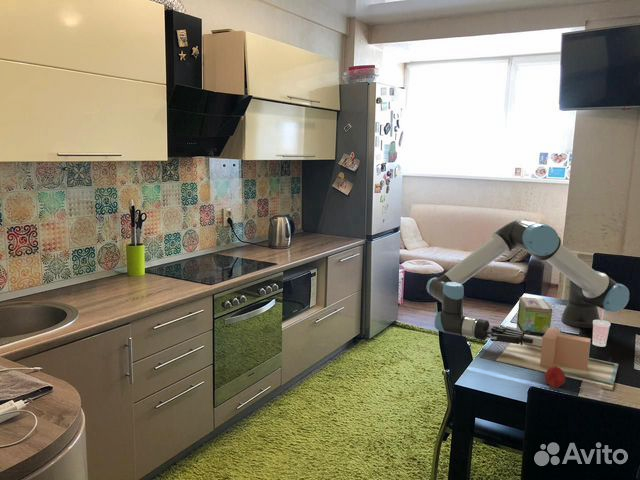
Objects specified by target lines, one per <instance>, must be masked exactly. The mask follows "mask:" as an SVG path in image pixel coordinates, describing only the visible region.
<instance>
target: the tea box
mask: <svg viewBox="0 0 640 480" xmlns="http://www.w3.org/2000/svg"><path fill="white" fill-rule="evenodd" d="M552 314H553V308H552V306H550V304H549V303H548V301H546V300H545V298H537V297H526V296H519V300H518V311H517V320H516V329H515V330H519V331H523V332H525V334H526V335H531V336H536V337H541V338H543V336H544V334H545V333H546V331H547V329H548V328H551V325H552V316H553V315H552Z"/></svg>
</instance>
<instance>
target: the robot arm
mask: <svg viewBox="0 0 640 480" xmlns="http://www.w3.org/2000/svg"><path fill="white" fill-rule="evenodd" d="M515 249H521V250H523V251H525V252H527V253H528V254H530V255H531V256H532V257H534V258H535V259H536V260H538V261H540V262H545V261H546V262H547V263H548V264H549V265H551V266H552V267H553V268H554V269H556V270H557V271H558V272H560V273H561V274H563V276H565V277H566V278H567V279H569V284H568V285H569V286H568V296H567V297H568V298H567V304H566V306H565V308H564V311H563V313H562V315H561V321H562V322H563V323H564V324H566V325H569V326H572V327H576V328H581V329H593V320H601V318H600V314H599V309H602V310H604V311H606V312H610V313H617V312H620V311H622V310H624V309H625V307H626V306H627V304H628V303H629V300H630V290H629V288H628V287H627V286H626V285H624V284H622V283H618V282H616V281H615V280H614V279H612V278H611V277H610V276H608V275H607V274H606V273H605V272H601V271H598V270H595V269H593V268H592V267H591V266H590V265H588V264H587V263H586V262H584V261H583V260H582V259H581V258H580V257H578V256H577V255H576V254H575V253H573V252H572V251H571V250H570V249H568V248H567V247H566V246H564V245H563V244H562V239H561V237H559V234H558V232H557V230H555V228H553V227H552V226H550V225H549V224H546V223H543V222H536V221H532V220H530V219H526V218H525V219H524V218H523V219H522V218H520V219H516V220H512V221H510V222H509V223H507V224H505V225H504V226H502V227H501V228H499V229H498V230H496V231H495V232H493V233H492V235H491V238H490V239H488V240H487V241H486V242H485V243H484V244H482V245H481V246H479V247H478V248H477V249H475V250H473V252H471V253H470V254H469V255H468V256H466V257H465V258H463V259H462V260H461V261H460V262H458V263H457V264H456V265H454V266H453V267H451V268H450V269H448V271H446V272H445V273H444V274H442V275H441V276H440V277H432V278H430V279H429V280H428V281H427V283H426V290H427V293H428V294H429V295H430V296H431V297H433V298H435V299H436V300H437V301H438V302H440V303H442V304H441V305H442V306H441V311H437V312H436V315H435V318H434V328H435V329H436V330H437V331H438V332H442V333H445V334H451V335H455V336H456V335H457V336H460V337H461V336H462V337H465V338H467V339H469V338H470V339H474V338H475V340H479V341H486V340H487V339H488V338H489V339H490V341H491V342H499V343H508V344H510V343H514V344H520V343H521V344H520V345H523V344H526V345H531V346H535V347H540V348H542V339H543V338H541V337H536V336H531V335H526V334H525V332H523V331H519V330H516V329H515V328H511V327H507V326H505V325H502V324H500V325H499V326H498V325H490V322H489V320H486V319H481V318H479V319H478V318H476V317H471V316H467V315H466V316H465V315H463V306H464V305H463V304H464V296H465V293H464V285H463V284H464V283H466V282H467V281H468V280H470V279H471V278H472V277H473V276H475V275H476V274H478V273H479V272H481V270H483V269H484V268H486V267H487V266H489V265H490V264H491V263H492V262H493V261H495V260H496V259H497V258H499V257H500V256H502V255H503V254H504V253H506V254H509V253H510V252H511V251H513V250H515Z"/></svg>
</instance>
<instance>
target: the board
mask: <svg viewBox="0 0 640 480" xmlns="http://www.w3.org/2000/svg"><path fill="white" fill-rule="evenodd" d="M520 344H521V343H520ZM520 344H514V343H508V345H507V346H506V348H505V349H504V350H503V352H501V354H500V355H499V356H498V357H497V358H496V359H495V361H496V362H501V363H505V364H510V365H515V366H518V367H523V368H527V369H531V370H535V371H541V372H544V373H546V372H547V370H548V369H549V368H551V367H547V366H542V365H540V359H541V349H542V347H541V346H536V345H531V344H526V343H523V345H520ZM555 365H558V364H554V366H555ZM558 367H559V368H560V369H561V370H562V371H563V372H564V374H565V378H566V377H567V378H571V379H575V380H580V381H583V382H588V383H592V384H597V385H600V387H601V389H606V390H610V391H613V390H614V389H613V388H614V384H615V381H616V377H617V372H618V369H619V363H617V362H616V363H615V362H612V361H611V362H610V361H605V360H601V359H596V358H592V357H589V360H588V367H587V370H581V369H576V368H572V367H567V366H562V365H558Z"/></svg>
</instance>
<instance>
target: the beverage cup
mask: <svg viewBox="0 0 640 480" xmlns="http://www.w3.org/2000/svg"><path fill="white" fill-rule="evenodd" d="M604 311H605V310H604V309H602V312H601V318H600V320H593V328H592V339H591V340H592V343H591V344H592V345H594V346H595V347H599V348H600V347H601V348H602V347H603V348H604V347H606V346H607V341H608V336H609V331H610V327H611V322H609V321H607V320H604V313H605V312H604Z"/></svg>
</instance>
